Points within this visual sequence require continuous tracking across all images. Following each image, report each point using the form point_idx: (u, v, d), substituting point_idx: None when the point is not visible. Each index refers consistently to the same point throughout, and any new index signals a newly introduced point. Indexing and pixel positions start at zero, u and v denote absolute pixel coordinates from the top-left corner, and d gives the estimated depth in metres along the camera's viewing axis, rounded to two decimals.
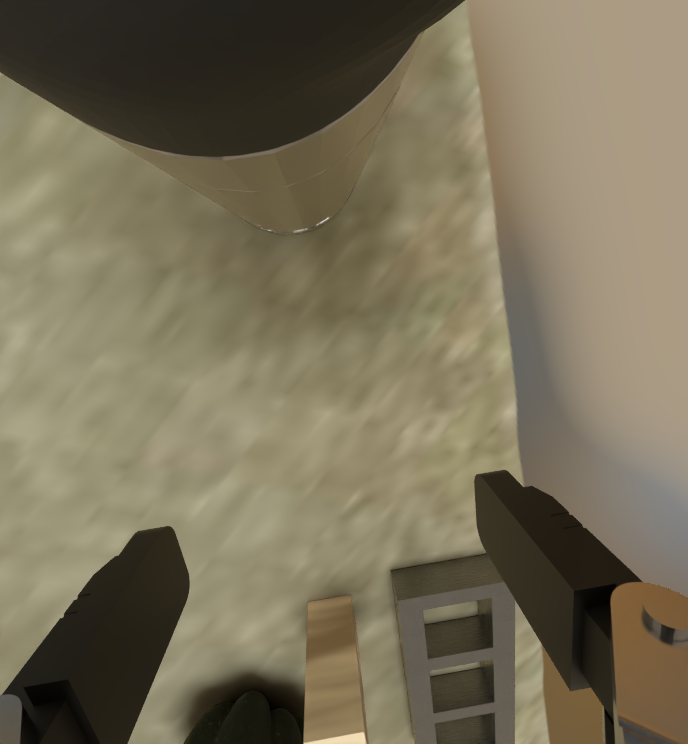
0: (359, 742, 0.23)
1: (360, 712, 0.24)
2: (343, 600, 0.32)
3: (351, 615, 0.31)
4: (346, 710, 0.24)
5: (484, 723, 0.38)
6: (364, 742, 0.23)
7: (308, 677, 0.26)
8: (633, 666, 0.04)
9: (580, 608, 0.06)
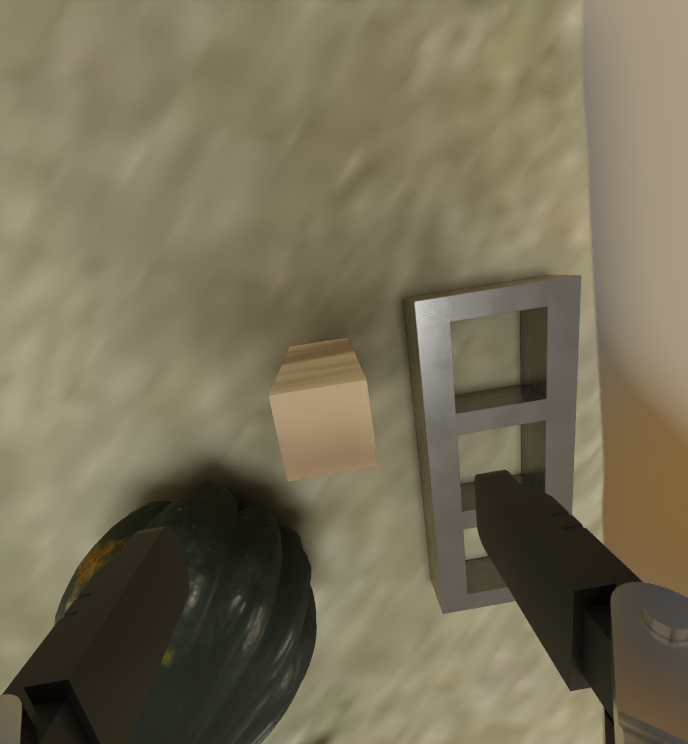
0: (359, 404, 0.14)
1: (361, 372, 0.15)
2: (338, 339, 0.23)
3: (348, 342, 0.22)
4: (339, 375, 0.15)
5: None
6: (367, 404, 0.14)
7: (283, 369, 0.18)
8: (633, 666, 0.04)
9: (580, 608, 0.06)
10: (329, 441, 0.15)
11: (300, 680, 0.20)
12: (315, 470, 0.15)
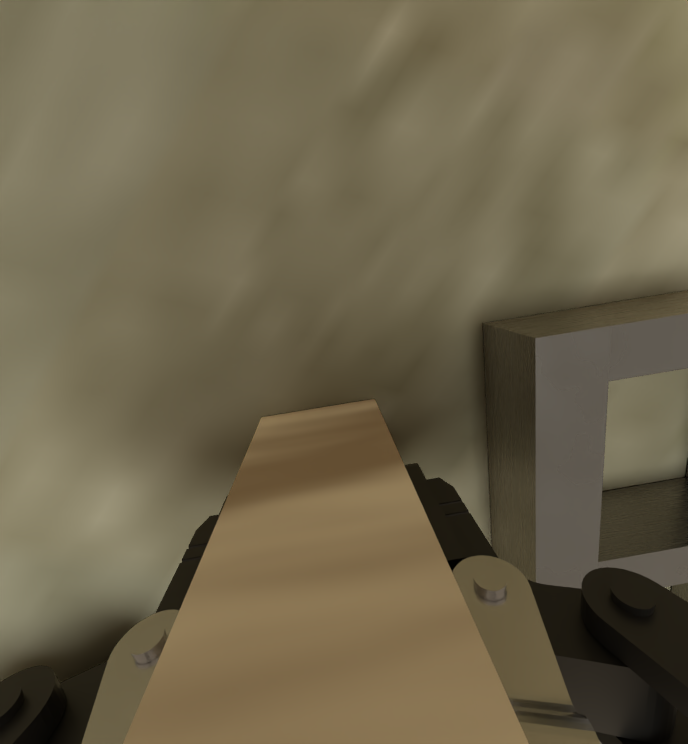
0: None
1: (494, 688, 0.04)
2: (357, 407, 0.12)
3: (381, 422, 0.10)
4: (398, 681, 0.04)
5: None
6: None
7: (216, 551, 0.06)
8: None
9: None
10: None
11: None
12: None
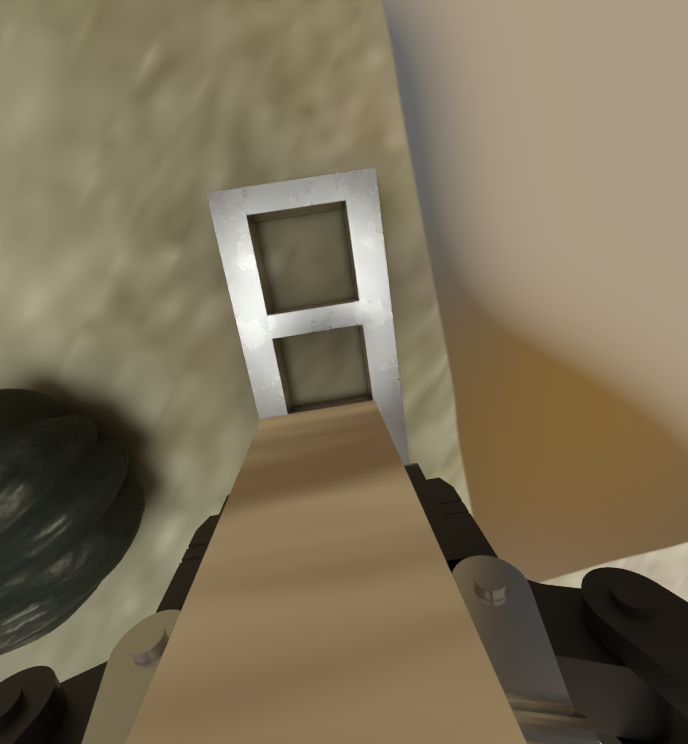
0: None
1: (494, 691, 0.04)
2: (357, 408, 0.12)
3: (381, 423, 0.10)
4: (398, 683, 0.04)
5: None
6: None
7: (216, 553, 0.06)
8: None
9: None
10: None
11: (87, 573, 0.20)
12: None
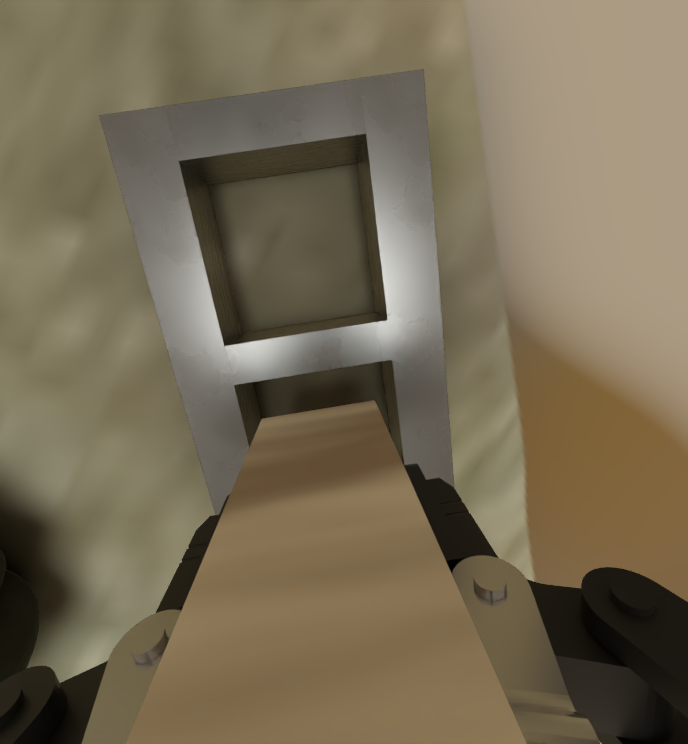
0: None
1: (494, 691, 0.04)
2: (357, 408, 0.12)
3: (381, 423, 0.10)
4: (398, 683, 0.04)
5: None
6: None
7: (216, 553, 0.06)
8: None
9: None
10: None
11: None
12: None
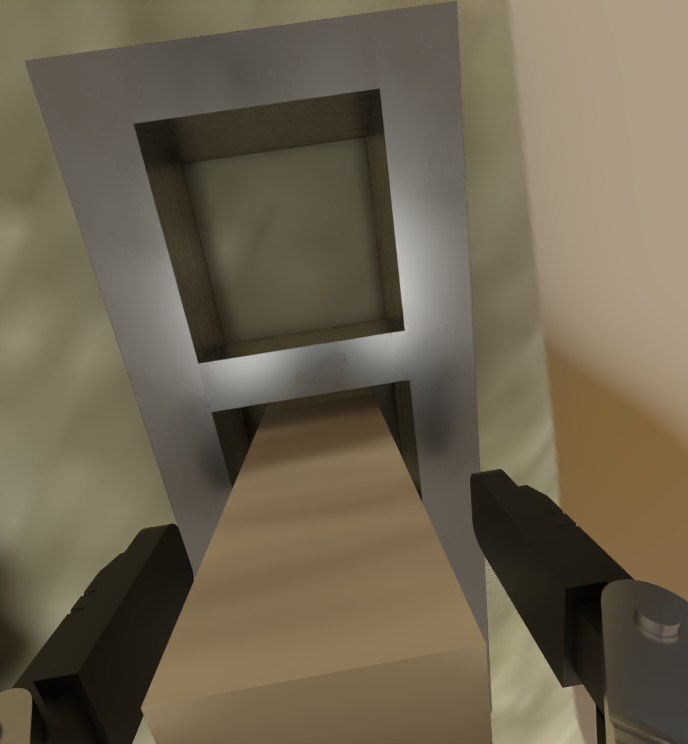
0: (456, 710, 0.04)
1: (446, 571, 0.05)
2: (353, 392, 0.13)
3: (375, 404, 0.12)
4: (379, 570, 0.05)
5: None
6: (482, 710, 0.04)
7: (237, 500, 0.08)
8: (622, 662, 0.04)
9: (572, 605, 0.06)
10: None
11: None
12: None
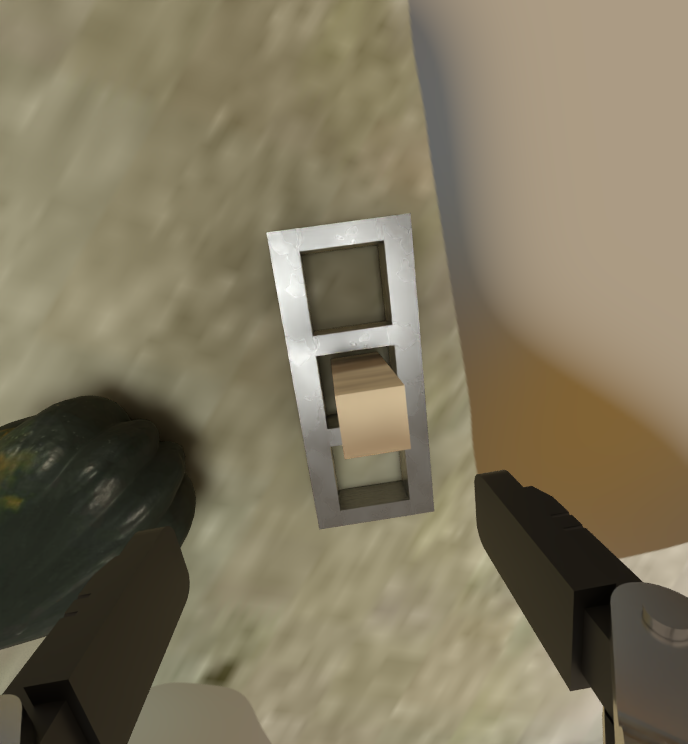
0: (399, 402, 0.20)
1: (398, 380, 0.21)
2: (370, 354, 0.29)
3: (380, 356, 0.28)
4: (382, 381, 0.21)
5: (402, 485, 0.32)
6: (404, 403, 0.20)
7: (336, 377, 0.23)
8: (633, 666, 0.04)
9: (580, 608, 0.06)
10: (376, 430, 0.20)
11: None
12: (365, 451, 0.21)
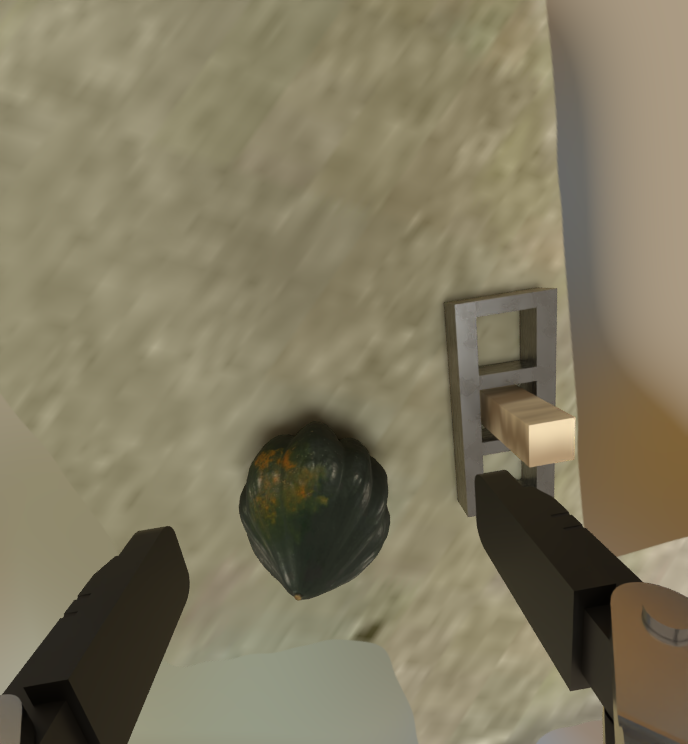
0: (570, 429, 0.30)
1: (565, 412, 0.30)
2: (508, 385, 0.38)
3: (521, 388, 0.37)
4: (553, 413, 0.30)
5: (524, 483, 0.41)
6: (573, 429, 0.30)
7: (508, 408, 0.33)
8: (633, 666, 0.04)
9: (580, 608, 0.06)
10: (552, 447, 0.30)
11: (385, 537, 0.33)
12: (543, 461, 0.30)
